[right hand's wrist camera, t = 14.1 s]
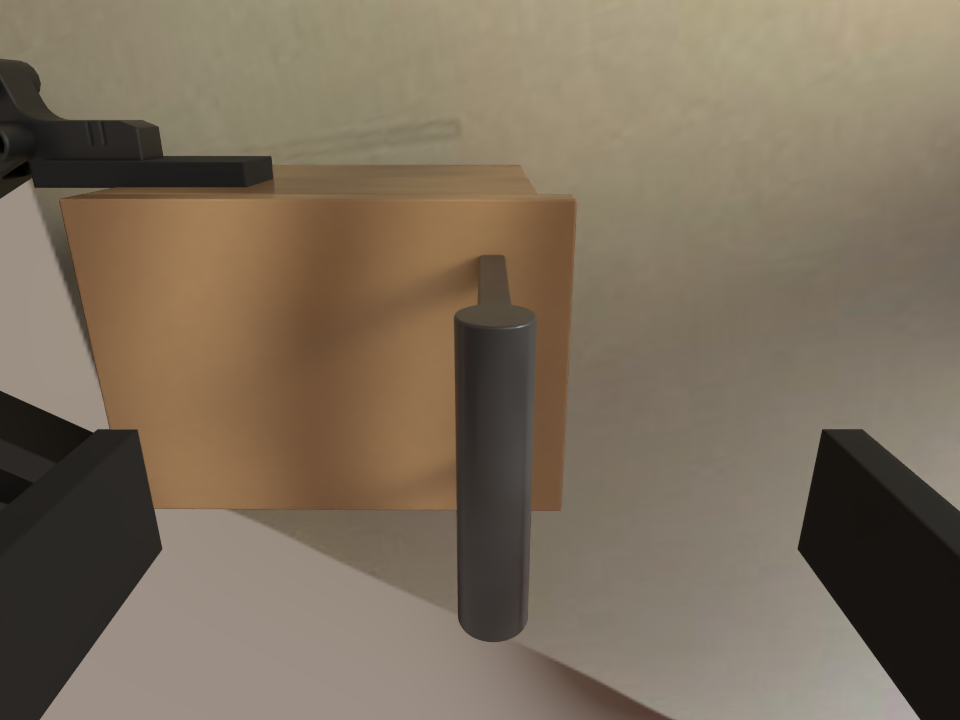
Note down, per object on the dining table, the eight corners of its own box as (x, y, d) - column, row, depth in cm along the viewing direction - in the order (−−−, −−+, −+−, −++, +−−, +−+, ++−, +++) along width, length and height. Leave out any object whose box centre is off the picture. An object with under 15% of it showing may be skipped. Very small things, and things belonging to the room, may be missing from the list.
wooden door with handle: (571, 194, 18) (631, 252, 11) (557, 491, 22) (595, 690, 14) (82, 193, 19) (-191, 250, 11) (144, 489, 22) (-33, 686, 14)
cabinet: (520, 165, 28) (538, 194, 19) (516, 375, 31) (529, 491, 22) (219, 165, 28) (83, 193, 19) (247, 374, 32) (144, 489, 22)
